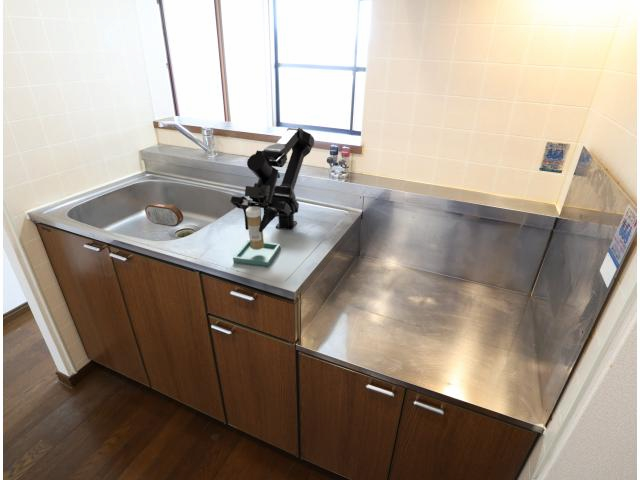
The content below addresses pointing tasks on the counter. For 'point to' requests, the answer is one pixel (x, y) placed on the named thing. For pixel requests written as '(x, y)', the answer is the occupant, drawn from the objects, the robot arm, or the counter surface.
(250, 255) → the teal tray
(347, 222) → the counter surface
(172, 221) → the tin
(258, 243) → the sprinkles bottle
